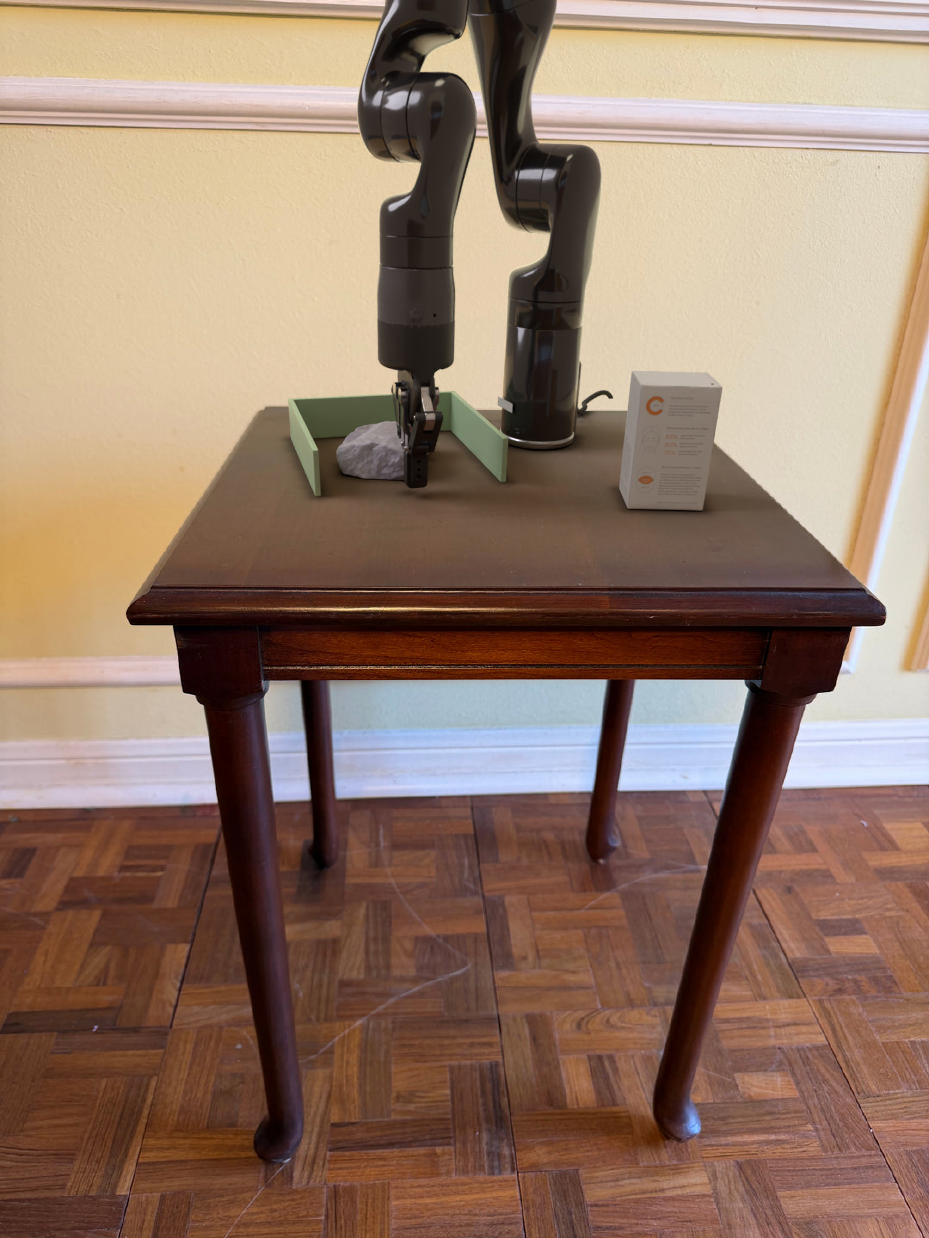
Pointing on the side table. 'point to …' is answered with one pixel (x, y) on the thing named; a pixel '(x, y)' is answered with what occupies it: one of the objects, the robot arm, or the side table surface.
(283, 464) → the side table surface
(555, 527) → the side table surface
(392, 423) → the stone block
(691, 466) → the small box
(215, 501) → the side table surface
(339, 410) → the green u-shaped fence
